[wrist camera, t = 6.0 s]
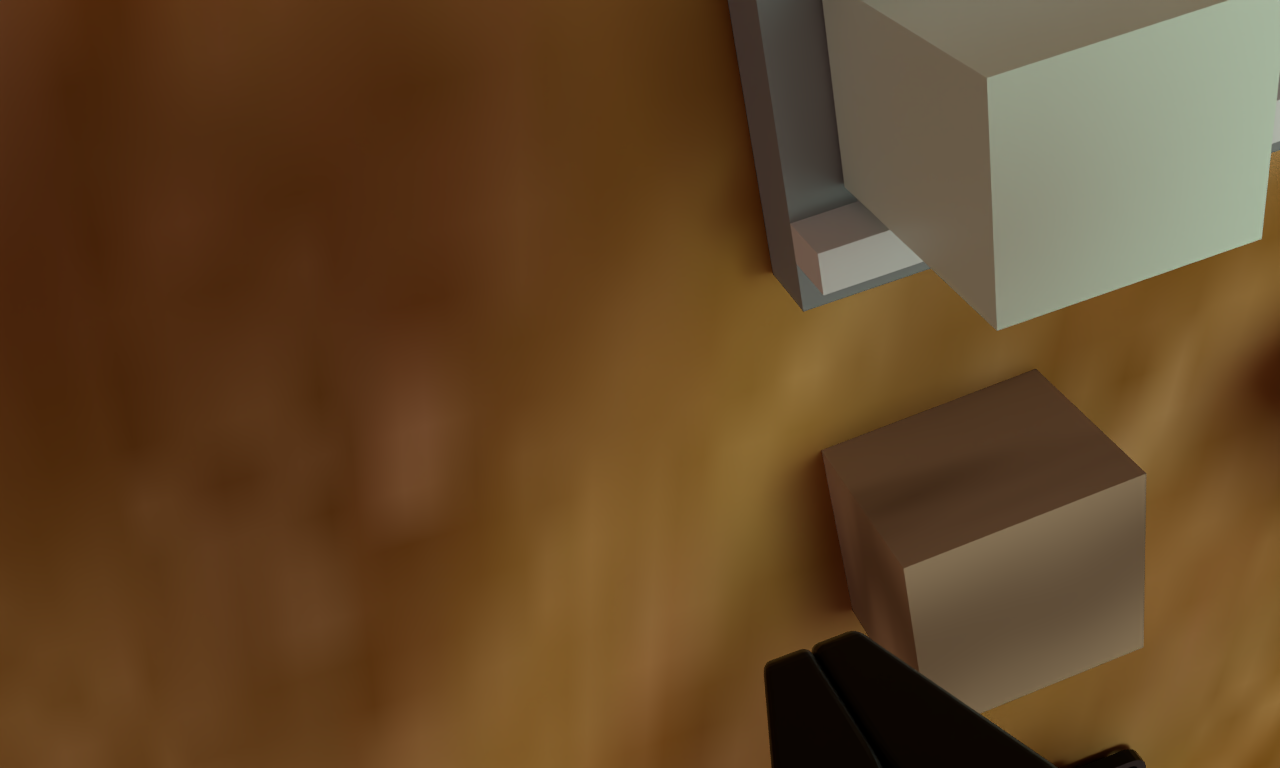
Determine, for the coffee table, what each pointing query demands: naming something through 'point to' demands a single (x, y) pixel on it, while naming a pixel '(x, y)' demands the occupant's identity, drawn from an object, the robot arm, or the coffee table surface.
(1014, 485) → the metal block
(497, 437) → the coffee table surface
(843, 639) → the robot arm
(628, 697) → the coffee table surface
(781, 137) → the rail
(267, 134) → the coffee table surface
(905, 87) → the tally marker
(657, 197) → the coffee table surface
